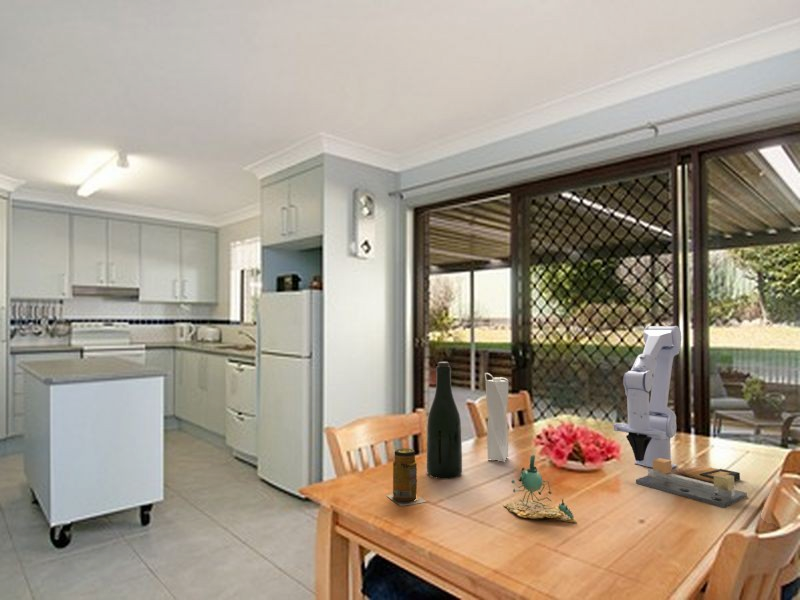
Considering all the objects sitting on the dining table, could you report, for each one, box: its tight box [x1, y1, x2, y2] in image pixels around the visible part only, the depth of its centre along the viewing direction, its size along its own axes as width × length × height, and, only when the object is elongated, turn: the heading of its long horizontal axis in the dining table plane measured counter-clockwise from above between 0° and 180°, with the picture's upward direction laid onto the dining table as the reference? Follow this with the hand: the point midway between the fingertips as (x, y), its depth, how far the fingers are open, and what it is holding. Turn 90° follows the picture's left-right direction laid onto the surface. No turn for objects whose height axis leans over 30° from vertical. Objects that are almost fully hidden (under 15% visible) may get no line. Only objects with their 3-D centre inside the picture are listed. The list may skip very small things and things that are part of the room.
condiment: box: [385, 447, 427, 507], centre depth 125 cm, size 7×8×12 cm
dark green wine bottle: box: [426, 361, 463, 479], centre depth 146 cm, size 10×10×33 cm
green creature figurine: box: [502, 454, 577, 523], centre depth 115 cm, size 10×18×15 cm, turn 43°
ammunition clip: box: [677, 465, 741, 484], centre depth 141 cm, size 11×2×12 cm
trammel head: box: [651, 458, 673, 479], centre depth 136 cm, size 3×7×4 cm, turn 124°
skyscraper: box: [484, 372, 509, 462], centre depth 161 cm, size 8×8×28 cm
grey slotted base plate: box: [635, 468, 748, 508], centre depth 131 cm, size 22×13×6 cm, turn 35°
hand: (639, 460), depth 142 cm, fingers closed
